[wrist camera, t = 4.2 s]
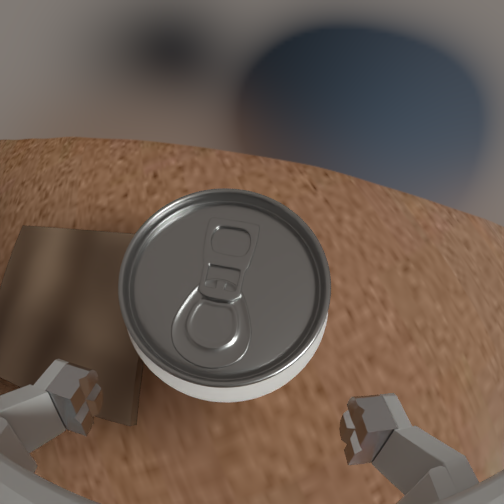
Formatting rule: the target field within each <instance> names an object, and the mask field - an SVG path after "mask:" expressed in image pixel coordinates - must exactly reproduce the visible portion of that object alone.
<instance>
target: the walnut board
mask: <svg viewBox="0 0 504 504" xmlns="http://www.w3.org/2000/svg"><path fill="white" fill-rule="evenodd" d="M134 235H135V234H129V233H116V232H104V231H91V230H77V229H64V228H51V227H37V226H22V229H21V231H20V234H19V236H18V238H17V241H16V244H15V246H14V249H13V251H12V254H11V257H10V260H9V262H8V265H7V268H6V271H5V274H4V278H3V281H2V284H1V287H0V377H1V378H3V379H5V380H7V381H9V382H11V383H13V384H15V385H17V386H19V387H21V388H22V387H25V386H27V385H34V384H35V383H36V382H37V380H38V379H39V378H40V377H41V376H42V374H43V373H44V372H45V371H46V370H47V369H48V367H49V366H50V365H51V364H52V363H53V362H54V360H56V359H61V360H64V361H67V362H70V363H73V364H76V365H80V366H83V367H86V368H89V369H92V370H94V371H96V372H97V375H98V378H99V379H98V381H97V384H98V385H99V386H100V387H101V389H102V392H103V404H102V408H101V410H100V412H99V414H97V415H95V416H96V417H99V418H102V419H106V420H109V421H113V422H116V423H120V424H124V425H128V426H133V425H137V414H138V403H139V394H140V385H141V377H142V369H143V360H142V359H141V358H140V356H139V355H138V353H137V351H136V350H135V348H134V346H133V344H132V341H131V339H130V336H129V334H128V330H127V327H126V325H125V322H124V320H123V317H122V313H121V309H120V305H119V297H118V280H119V272H120V267H121V264H122V260H123V257H124V254H125V252H126V250H127V247H128V245H129V244H130V242H131V240H132V238H133V237H134Z"/></svg>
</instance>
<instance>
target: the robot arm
mask: <svg viewBox="0 0 504 504" xmlns="http://www.w3.org/2000/svg"><path fill="white" fill-rule="evenodd" d="M98 379H99V378H98V375H97V372H96V371H94V370H92V369H89V368H86V367H83V366H80V365H76V364H73V363H70V362H67V361H64V360H61V359H56V360H54V362H53V363H52V364H51V365H50V366H49V367H48V369H47V370H46V371H45V372H44V373H43V374H42V376H41V377H40V378H39V379H38V380H37V382H36V383H35V384H34V385H27V386H25V387H22V388H19V389H17V390H14V391H11V392H8V393H6V394H3V395H0V504H100V503H98V502H95V501H92V500H90V499H87V498H85V497H82V496H80V495H77V494H75V493H73V492H71V491H68V490H66V489H64V488H62V487H60V486H58V485H55V484H53V483H51V482H49V481H47V480H45V479H44V478H42V477H40V476H38V475H36V474H34V472H35V470H36V468H37V464H36V462H35V460H34V459H33V458H32V457H31V455H30V454H29V453H30V452H32V451H34V450H35V449H37V448H38V447H40V446H42V445H43V444H45V443H47V442H48V441H50V440H51V439H53V438H55V437H56V436H58V435H59V434H61V433H62V432H64V431H66V429H68V430H70V431H73V432H76V433H79V434H82V435H85V436H87V435H88V433H89V431H90V429H91V427H92V425H93V424H94V421H93V416H95V415H97V414H99V412H100V410H101V408H102V404H103V392H102V389H101V387H100V386H99V385H98V384H97V381H98ZM347 407H348V411H346V412H345V413H344V414H343V415H342V418H341V420H340V436H341V440H342V441H344V442H345V443H346V444H347V445H346V447H345V449H344V452H345V456H346V459H347V463H348V465H356V464H364V463H372V465H373V466H375V467H376V468H377V469H378V470H379V471H380V472H381V473H382V474H383V475H384V476H385V477H386V478H387V479H388V480H389V481H390V482H391V483H392V484H394V485H395V486H396V487H397V488H398V489H399V490H400V491H401V492H402V493H403V494H404V495H405V496H404V497H403V498H401V499H400V500H399V501H398V502H397V503H396V504H504V470H502V471H500V472H498V473H497V474H495V475H493V476H491V477H489V478H487V479H486V480H484V481H482V482H480V483H479V482H478V480H477V478H476V476H475V474H474V472H473V470H472V468H471V466H470V464H469V462H468V460H467V459H466V457H465V456H464V455H463V454H461V453H459V452H457V451H456V450H454V449H452V448H451V447H449V446H447V445H446V444H444V443H443V442H441V441H439V440H438V439H436V438H434V437H433V436H431V435H430V434H428V433H426V432H425V431H423V430H422V429H420V428H419V427H417V426H412V425H411V423H410V421H409V419H408V417H407V415H406V413H405V411H404V409H403V407H402V405H401V403H400V401H399V400H398V398H397V396H396V395H395V394H394V393H389V394H380V395H369V396H356V397H351V398H350V399H349V401H348V404H347Z"/></svg>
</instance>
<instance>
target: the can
mask: <svg viewBox="0 0 504 504" xmlns="http://www.w3.org/2000/svg"><path fill="white" fill-rule="evenodd" d="M118 297H119V305H120V309H121V313H122V317H123V320H124V322H125V325H126V327H127V330H128V334H129V336H130V339H131V341H132V344H133V346H134V348H135V350H136V351H137V353H138V355H139V356H140V358H141V359H142V360H143V362H144V363H145V364H146V366H147V367H148V368H149V369H150V370H151V371H152V372H153V373H154V374H155V375H156V376H157V377H159V378H160V379H161V380H162V381H164V382H165V383H166V384H168V385H169V386H171V387H173V388H174V389H176V390H178V391H180V392H182V393H184V394H186V395H189V396H192V397H195V398H198V399H202V400H207V401H213V402H239V401H246V400H250V399H254V398H258V397H261V396H263V395H266V394H268V393H270V392H273V391H275V390H276V389H278V388H280V387H281V386H283V385H285V384H286V383H287V382H289V381H290V380H291V379H292V378H294V377H295V376H296V375H297V374H298V373H299V372H300V371H301V370H302V369H303V368H304V367H305V365H306V364H307V363H308V362H309V360H310V359H311V358H312V356H313V355H314V353H315V351H316V350H317V348H318V346H319V344H320V341H321V339H322V336H323V333H324V330H325V327H326V322H327V316H328V309H329V304H330V297H331V278H330V271H329V266H328V262H327V259H326V256H325V253H324V251H323V249H322V246H321V244H320V243H319V241H318V239H317V237H316V236H315V234H314V233H313V232H312V230H311V229H310V228H309V226H308V225H307V224H306V223H305V222H304V221H303V220H302V219H301V218H300V217H299V216H298V215H297V214H295V213H294V212H293V211H292V210H290V209H289V208H287V207H286V206H284V205H283V204H281V203H279V202H277V201H276V200H274V199H271V198H269V197H267V196H264V195H261V194H258V193H255V192H251V191H246V190H239V189H211V190H204V191H199V192H195V193H192V194H189V195H186V196H183V197H181V198H179V199H176V200H174V201H172V202H171V203H169V204H167V205H165V206H164V207H162V208H161V209H160V210H158V211H157V212H156V213H154V214H153V215H152V216H151V217H150V218H149V219H148V220H147V221H146V222H145V223H144V224H143V225H142V226H141V227H140V228H139V230H138V231H137V232H136V234H135V235H134V237H133V238H132V240H131V242H130V244H129V245H128V247H127V250H126V252H125V254H124V257H123V260H122V264H121V267H120V272H119V280H118Z"/></svg>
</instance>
